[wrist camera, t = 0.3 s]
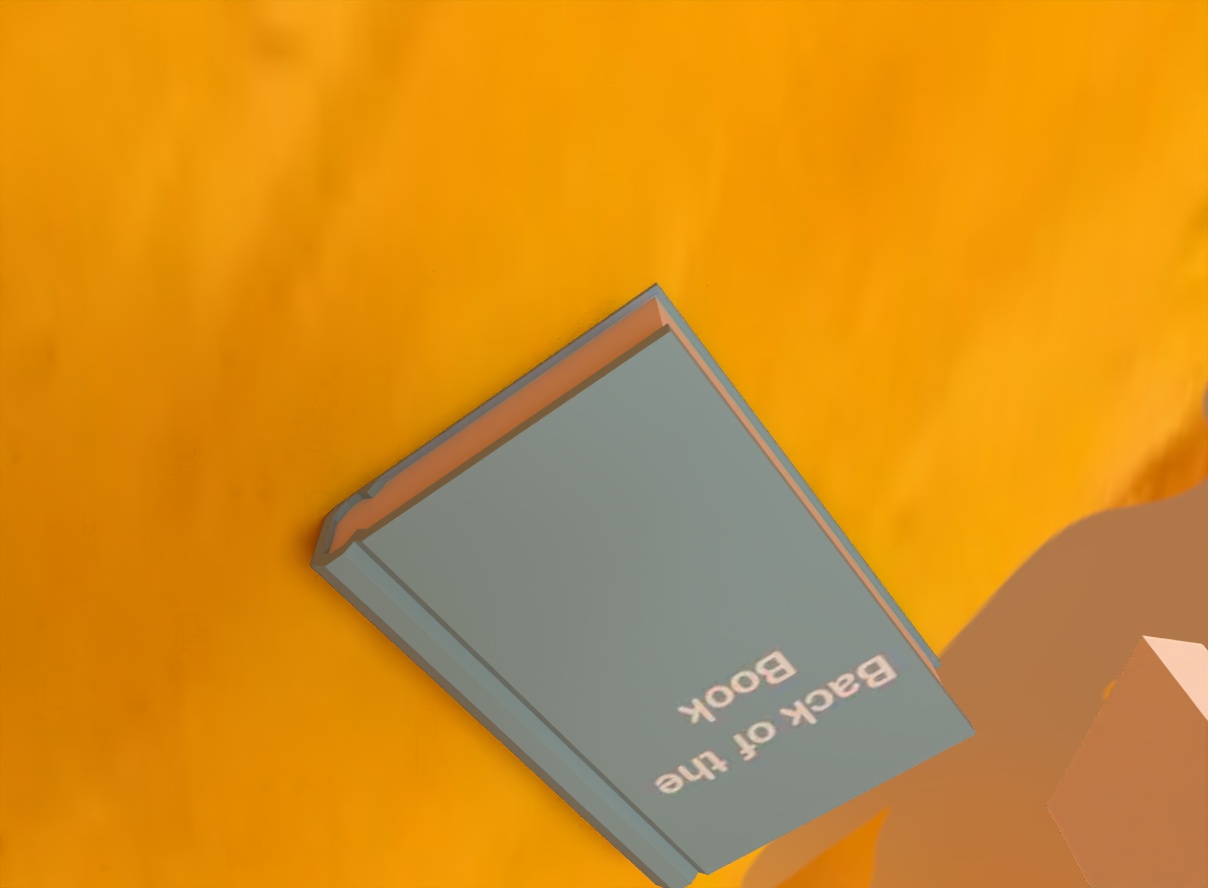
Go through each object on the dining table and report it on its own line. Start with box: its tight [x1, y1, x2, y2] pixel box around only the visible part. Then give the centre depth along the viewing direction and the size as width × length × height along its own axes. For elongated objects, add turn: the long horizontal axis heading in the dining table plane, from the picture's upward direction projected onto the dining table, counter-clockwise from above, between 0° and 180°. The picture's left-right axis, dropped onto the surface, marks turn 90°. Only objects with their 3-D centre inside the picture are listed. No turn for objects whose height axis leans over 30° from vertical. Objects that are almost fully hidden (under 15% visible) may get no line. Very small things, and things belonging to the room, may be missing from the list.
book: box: [310, 283, 976, 888], centre depth 44 cm, size 23×16×5 cm
